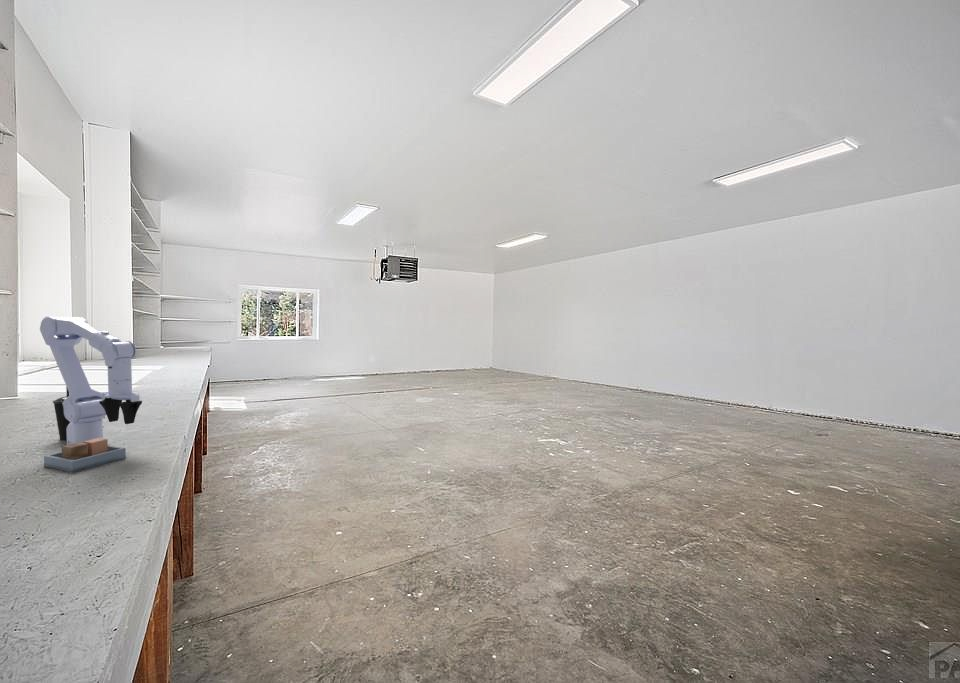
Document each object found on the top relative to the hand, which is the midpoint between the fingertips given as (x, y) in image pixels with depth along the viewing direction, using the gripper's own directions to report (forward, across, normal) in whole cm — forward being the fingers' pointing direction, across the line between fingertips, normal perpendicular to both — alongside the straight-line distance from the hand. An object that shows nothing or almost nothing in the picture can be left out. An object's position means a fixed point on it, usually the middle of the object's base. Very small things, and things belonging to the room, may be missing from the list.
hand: (121, 422), depth 133 cm
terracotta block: (+9, +1, -8) cm, 12 cm away
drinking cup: (+10, -33, +3) cm, 34 cm away
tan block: (+9, +1, -13) cm, 15 cm away
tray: (+9, +1, -10) cm, 14 cm away
